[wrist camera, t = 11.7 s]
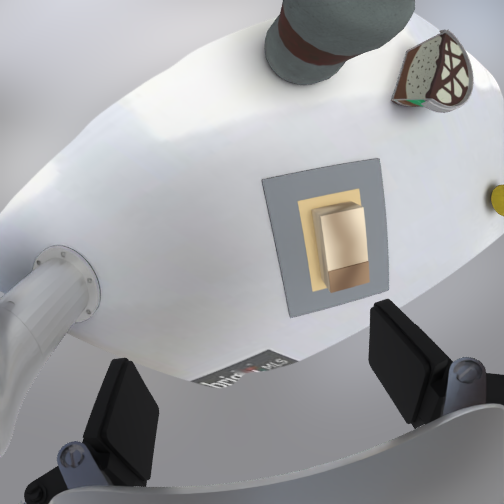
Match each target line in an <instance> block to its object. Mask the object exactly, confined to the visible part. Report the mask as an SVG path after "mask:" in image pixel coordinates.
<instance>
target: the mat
mask: <svg viewBox="0 0 504 504" xmlns="http://www.w3.org/2000/svg"><path fill="white" fill-rule="evenodd" d="M262 183H263V187H264V192H265V197H266V201H267V206H268V210H269V215H270V220H271V225H272V229H273V234H274V239H275V244H276V248H277V253H278V258H279V263H280V268H281V273H282V278H283V283H284V288H285V293H286V298H287V303H288V309H289V314H290V318H293V317H297V316H301V315H305V314H309V313H313V312H316V311H320V310H324V309H327V308H331V307H335V306H338V305H342V304H345V303H349V302H352V301H356V300H359V299H362V298H366V297H369V296H372V295H375V294H379V293H382V292H385V291H388V290H389V259H388V237H387V222H386V209H385V199H384V189H383V181H382V173H381V166H380V159H379V158H376V159H370V160H363V161H357V162H351V163H345V164H339V165H333V166H328V167H322V168H317V169H311V170H306V171H301V172H296V173H291V174H286V175H281V176H277V177H272V178H267V179H263V180H262ZM348 201H352V202H354V203H356V204H358V205H360V206H362V207H364V216H365V227H366V238H367V252H368V261H369V277H370V282H369V283H366V284H362V285H359V286H355V287H351V288H348V289H344V290H341V291H337V292H333V293H330V291H329V290H328V288H327V287H326V285H325V284H324V282H323V281H322V279H321V271H320V263H319V256H318V249H317V242H316V236H315V229H314V223H313V216H312V210H311V209H314V208H319V207H324V206H329V205H333V204H338V203H343V202H348Z"/></svg>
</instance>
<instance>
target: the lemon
mask: <svg viewBox="0 0 504 504" xmlns="http://www.w3.org/2000/svg"><path fill="white" fill-rule="evenodd" d="M491 202H492V206H493V208H494V209H495V211H496V212H497V213H498V214H500V215H502V216H504V185H499V186H497V187H496V188H495V189H494V190H493V192H492V195H491Z"/></svg>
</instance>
